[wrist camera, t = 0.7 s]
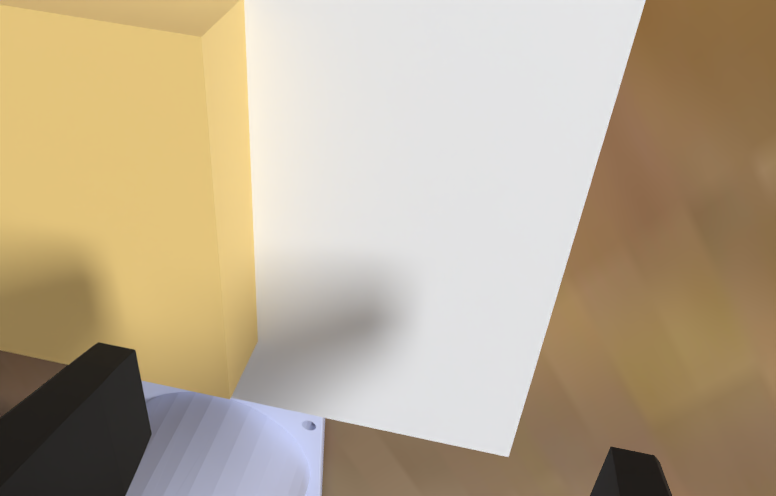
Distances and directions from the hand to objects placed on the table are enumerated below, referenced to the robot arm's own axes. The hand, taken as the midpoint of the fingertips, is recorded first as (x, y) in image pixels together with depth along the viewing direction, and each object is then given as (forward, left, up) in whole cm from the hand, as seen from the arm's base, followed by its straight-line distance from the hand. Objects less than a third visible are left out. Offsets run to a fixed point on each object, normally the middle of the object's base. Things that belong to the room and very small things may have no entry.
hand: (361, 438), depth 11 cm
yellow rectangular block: (0, +7, -6) cm, 9 cm away
